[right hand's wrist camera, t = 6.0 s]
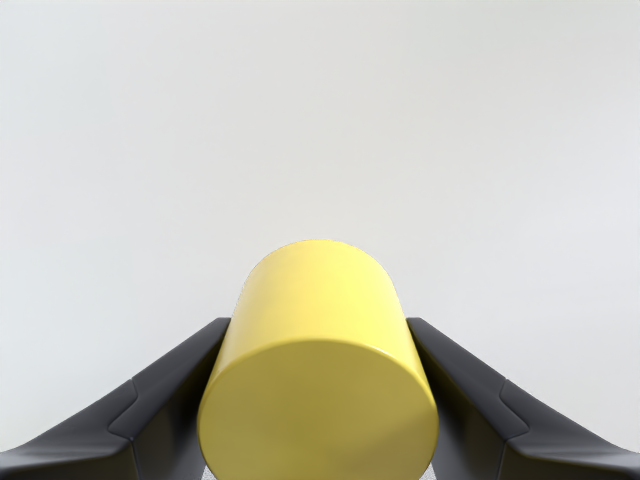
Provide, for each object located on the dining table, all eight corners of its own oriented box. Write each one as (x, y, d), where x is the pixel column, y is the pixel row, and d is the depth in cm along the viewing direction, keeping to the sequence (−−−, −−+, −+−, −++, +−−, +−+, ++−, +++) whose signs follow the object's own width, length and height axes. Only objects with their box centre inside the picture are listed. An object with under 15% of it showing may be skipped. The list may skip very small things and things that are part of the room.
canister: (427, 280, 12) (489, 396, 8) (350, 395, 14) (365, 547, 9) (279, 210, 11) (253, 295, 7) (216, 341, 13) (161, 479, 8)
